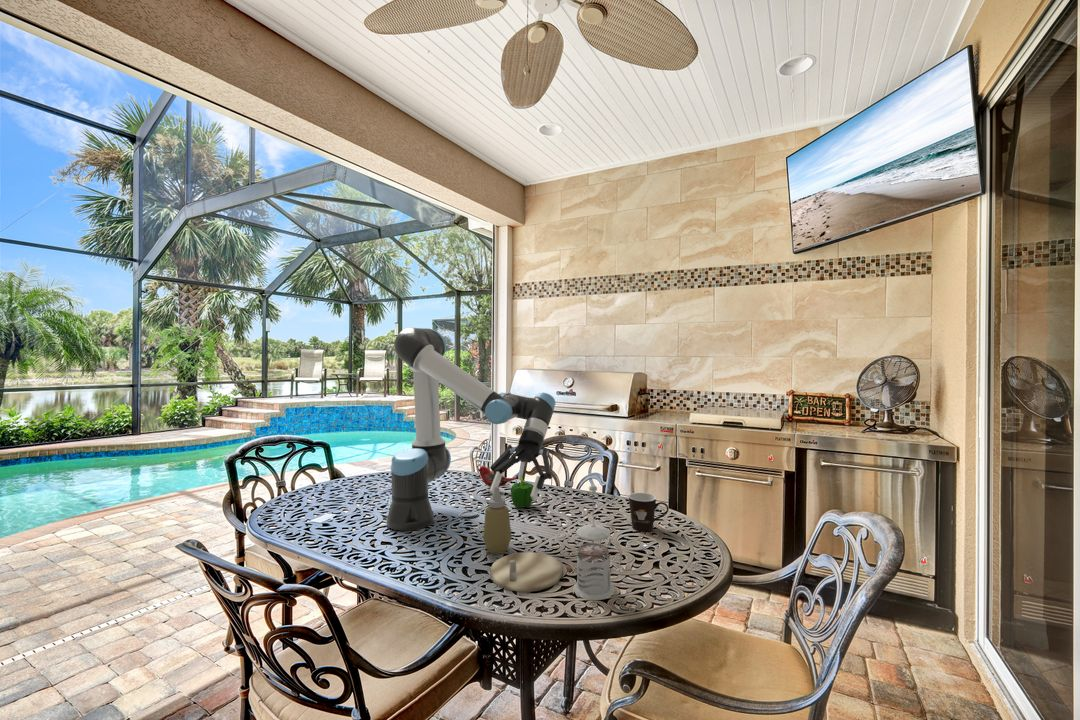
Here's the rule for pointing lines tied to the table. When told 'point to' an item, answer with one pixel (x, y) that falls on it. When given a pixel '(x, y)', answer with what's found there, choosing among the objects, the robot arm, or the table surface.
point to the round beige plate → (526, 571)
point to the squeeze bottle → (497, 525)
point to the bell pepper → (521, 494)
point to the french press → (597, 581)
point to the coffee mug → (643, 511)
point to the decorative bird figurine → (488, 475)
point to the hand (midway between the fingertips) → (512, 495)
